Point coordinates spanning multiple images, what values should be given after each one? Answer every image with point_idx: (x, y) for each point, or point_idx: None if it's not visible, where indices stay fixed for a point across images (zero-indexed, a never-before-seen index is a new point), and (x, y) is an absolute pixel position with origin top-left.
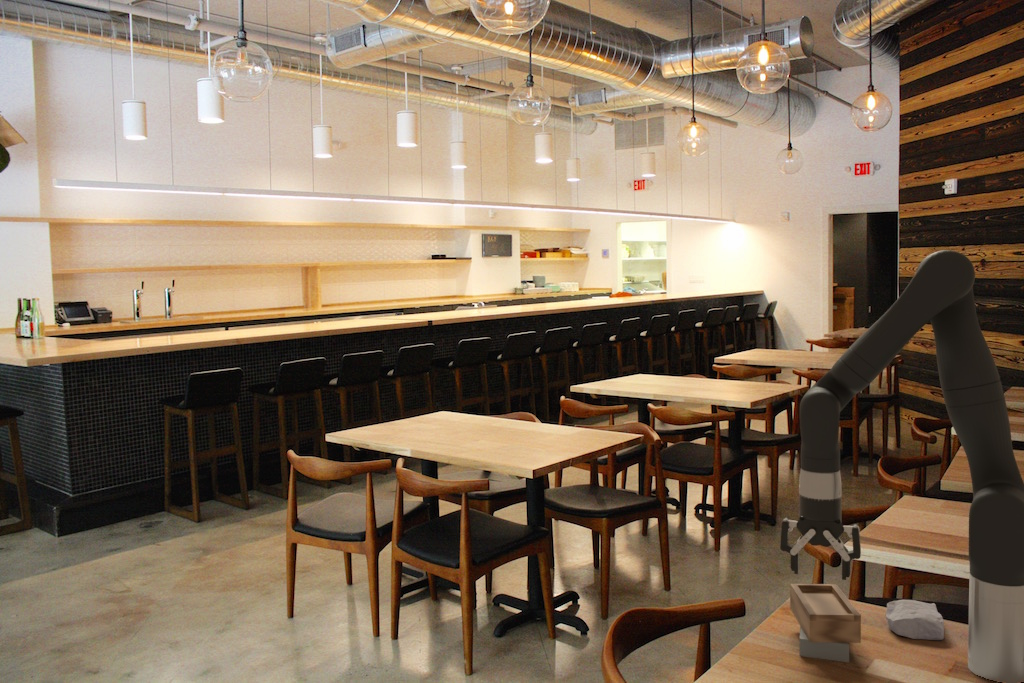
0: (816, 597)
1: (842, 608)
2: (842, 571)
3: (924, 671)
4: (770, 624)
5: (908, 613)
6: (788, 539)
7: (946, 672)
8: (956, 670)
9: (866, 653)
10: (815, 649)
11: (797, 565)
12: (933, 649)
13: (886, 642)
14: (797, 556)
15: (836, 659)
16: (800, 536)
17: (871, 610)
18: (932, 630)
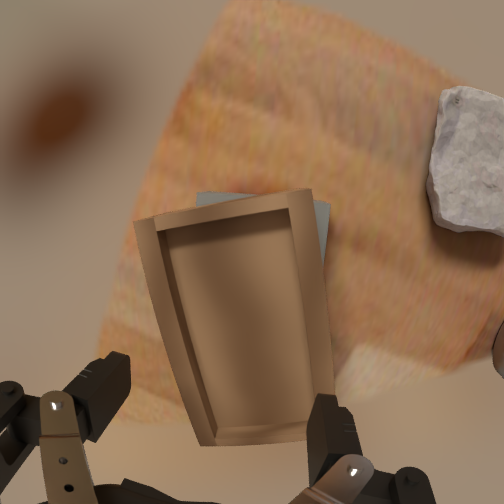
0: (227, 279)
1: (303, 355)
2: (309, 453)
3: (427, 371)
4: (137, 211)
5: (481, 184)
6: (4, 417)
7: (459, 362)
8: (476, 350)
9: (345, 326)
10: None
11: (112, 416)
12: (477, 272)
13: (402, 258)
14: (94, 441)
15: None
16: (40, 450)
17: (395, 68)
18: (500, 235)
